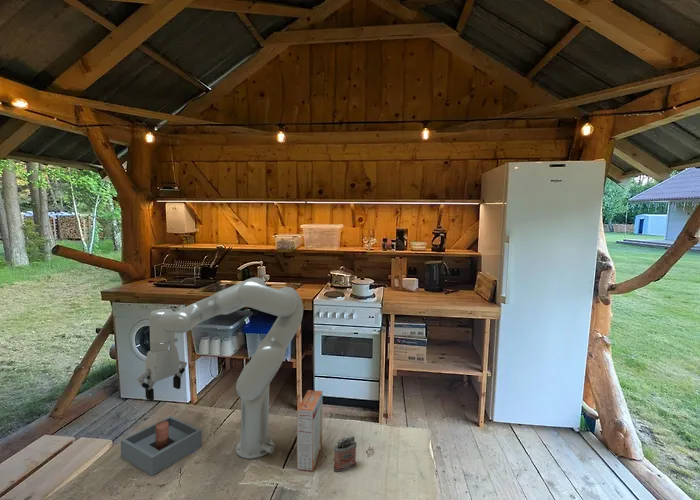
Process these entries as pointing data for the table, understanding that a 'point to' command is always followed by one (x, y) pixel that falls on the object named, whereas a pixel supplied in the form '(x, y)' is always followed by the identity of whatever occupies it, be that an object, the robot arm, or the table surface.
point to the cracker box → (309, 430)
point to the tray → (151, 460)
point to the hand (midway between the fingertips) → (164, 393)
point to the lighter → (345, 454)
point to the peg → (162, 434)
